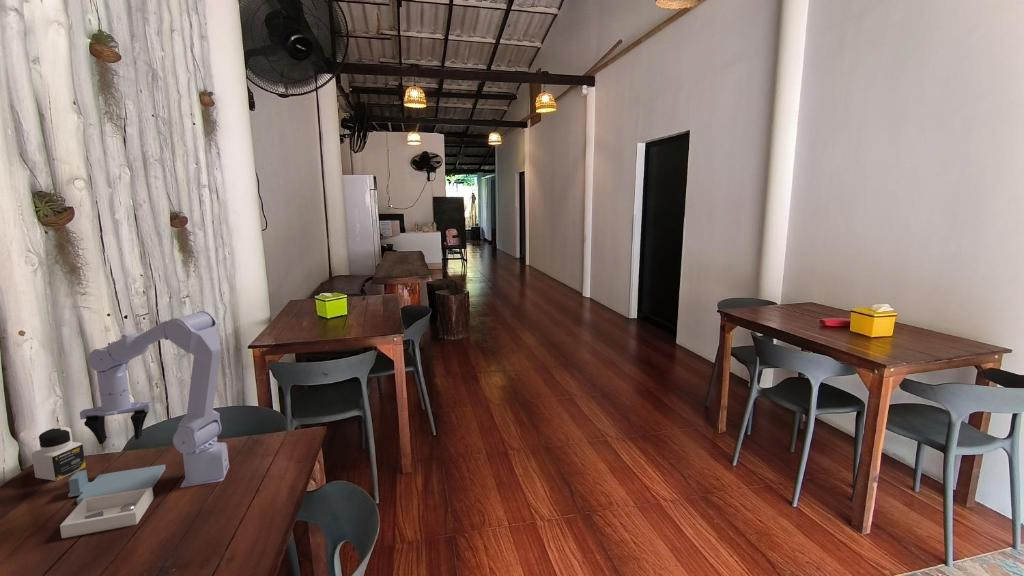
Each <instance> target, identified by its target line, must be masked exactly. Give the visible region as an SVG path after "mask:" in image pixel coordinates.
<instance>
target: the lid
mask: <svg viewBox="0 0 1024 576" xmlns="http://www.w3.org/2000/svg"><path fill="white" fill-rule="evenodd" d="M165 471H166V464H159V465H152V466H145V467H140V468H132V469H127V470H121V471H115V472H107V473H100V474H98V475H97V476H96V477H95V479H93V481H89V478H88V474H87V473H88V471H87V469H83V470H82V469H81V470H78V471H76V472H74V474H72V475H71V477H70V478H69V479H68V485H69V493H67V496H68V498H71V497H77V496H78V497H77V498H76V505H79V504H80V503H81V501H82V500H83V499H84V498H90V497H96V496H102V495H108V494H114V493H120V492H126V491H133V490H139V489H145V488H151V487H152V489H153V488H154V487H155V485H156V484H157V482H158V481H159V479H160V478H161V476H162V475H163V474H164V472H165Z"/></svg>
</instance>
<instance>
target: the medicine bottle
mask: <svg viewBox="0 0 1024 576" xmlns="http://www.w3.org/2000/svg"><path fill="white" fill-rule="evenodd" d="M38 440H39V441H38V442H39V446H40V449H38V450H35V451H33V452H31V457H32V458H31V459H32V464H33V469H34V477H35V478H36V479H43V480H48V481H49V480H50V481H54V482H55V481H56V482H57V481H59V480H61V479H64V478H65V477H67V476H69V475H71V474H72V475H73V473H74V474H75V473H76V472H77V471H81V470H82V469H85V468H86V458H85V452H84V446H83V443H82V442H76V441H73V435H72V429H71V428H70V427H67V426H60V427H54V428H51V429H48V430H45V431H43V432H42V433H40V435H39V436H38Z"/></svg>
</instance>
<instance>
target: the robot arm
mask: <svg viewBox="0 0 1024 576" xmlns="http://www.w3.org/2000/svg"><path fill="white" fill-rule="evenodd" d="M219 324H220V323H219V321H218V320H217V319H216V318H215V317H214V316H213V315H212V314H211V313H210V312H209V311H206V310H199V311H197V312H194V313H191V314H188V315H183V316H180V317H173V318H171V319H169V320H165V321H162V322H159V323H158V324H157V325H155V326H153V327H151V328H150V329H148V330H146V331H144V332H142V333H136V332H132V333H131V332H127V333H124V334H122V335H121V338H119V339H118V340H116V341H115V340H113V341H110V342H108V343H107V346H105V347H104V346H103V347H101V348H95V349H93V350H91V352H90V353H89V354H88V357H87V362H88V364H89V367H90V368H91V369H93V370H94V371H95V372H96V377H97V378H96V379H97V384H98V385H97V386H98V392H99V400H100V406H96V407H91V408H86V409H82V410H81V411H80V412H79V417H80V418H79V419H80V420H85V421H84V426H85V427H86V428H88V429H89V430H90V432H92V433H93V435H94V436H95V438H96V440H97V442H98V444H99V445H102V444H104V443H105V442H106V441H107V433H106V428H105V425H106V424H105V421H106V420H105V419H106V417H110V416H111V417H112V416H115V415H123V414H132V413H133V414H132V415H131V416H130V420H131V423H132V425H133V433H134V434H133V435H134V439H135V440H139V439H140V438H141V437H142V434H143V427H144V423H145V420H146V418H147V415H148V413H149V412H151V410H152V409H153V403H152V402H151V401H150V402H144V401H143V402H142V401H141V402H140V401H139V402H134V401H133V402H131V396H130V390H129V383H128V375H127V371H128V369H129V362H130V361H131V360H133V359H136V358H137V357H139V356H141V355H143V354H145V353H146V352H148V350H149V348H150V345H153V344H155V343H156V342H159V341H160V340H165V341H168V340H169V341H170V342H171V343H173V344H174V345H175V346H177V347H178V348H180V349H181V350H183V351H185V352H186V353H187V354H189V355H190V354H191V355H192V356H193V361H192V362H193V363H192V368H191V369H192V370H191V377H190V383H189V384H190V385H189V386H190V387H189V394H188V399H187V400H188V401H187V402H188V403H187V410H186V414H185V415H184V417H182V419H181V420H180V422H179V423H178V424H177V430H176V432H175V433H174V434H173V437H172V442H173V443H172V444H173V446H174V447H175V449H176V450H177V451H178V452H179V453H180V454H182V457H183V466H184V475H185V478H184V479H183V481H182V483H181V484H180V488H187V487H193V486H197V485H198V486H199V485H203V484H209V483H217V482H222V481H224V480H225V477H226V476H227V473H228V470H229V469H230V463H229V452H228V444H227V443H226V442H218V436H219V435H220V434H221V433H222V428H223V427H222V424H221V420H220V417H221V416H220V415H221V414H220V412H218V411H216V410H214V407H215V399H216V398H215V397H216V390H217V381H218V375H219V368H220V367H219V366H220V361H221V360H220V359H221V352H222V348H221V343H220V339H219V335H218V331H219Z"/></svg>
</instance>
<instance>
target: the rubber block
mask: <svg viewBox="0 0 1024 576" xmlns="http://www.w3.org/2000/svg"><path fill="white" fill-rule="evenodd" d="M101 516H104V515H103V511H100V512H97V513H94V514H91V515H87V516H85V519H90V518H96V517H101Z"/></svg>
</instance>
